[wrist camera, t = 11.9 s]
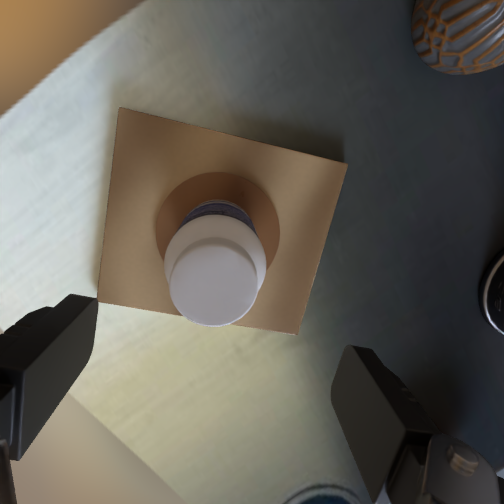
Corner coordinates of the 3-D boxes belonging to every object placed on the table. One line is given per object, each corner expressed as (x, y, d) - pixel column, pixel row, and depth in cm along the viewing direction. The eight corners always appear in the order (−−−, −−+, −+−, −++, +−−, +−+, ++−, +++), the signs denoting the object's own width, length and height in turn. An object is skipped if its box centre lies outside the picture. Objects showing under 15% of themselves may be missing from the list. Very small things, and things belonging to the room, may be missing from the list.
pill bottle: (168, 214, 23) (129, 253, 14) (239, 187, 23) (250, 208, 14) (197, 281, 25) (181, 357, 15) (265, 256, 24) (290, 317, 15)
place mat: (344, 163, 24) (350, 164, 23) (295, 330, 28) (298, 337, 27) (122, 108, 22) (117, 105, 21) (99, 297, 25) (94, 303, 24)
